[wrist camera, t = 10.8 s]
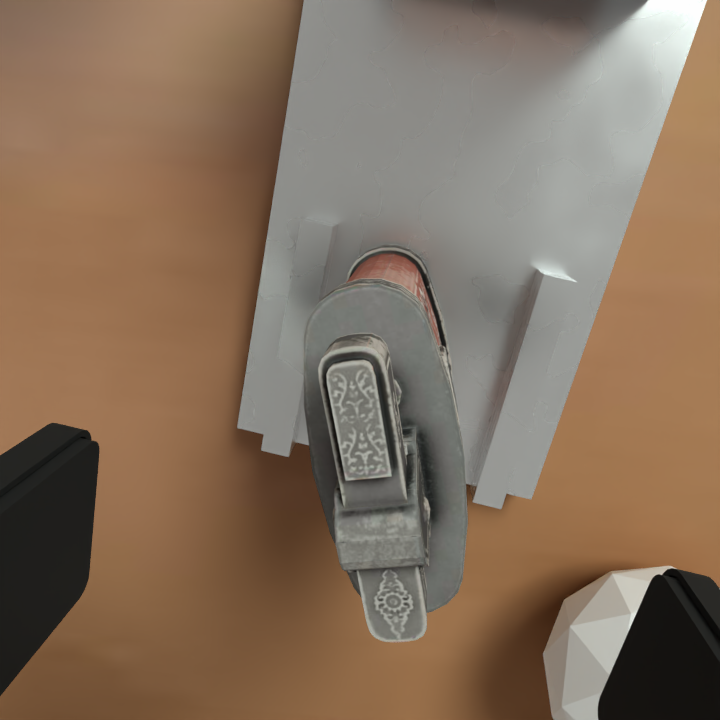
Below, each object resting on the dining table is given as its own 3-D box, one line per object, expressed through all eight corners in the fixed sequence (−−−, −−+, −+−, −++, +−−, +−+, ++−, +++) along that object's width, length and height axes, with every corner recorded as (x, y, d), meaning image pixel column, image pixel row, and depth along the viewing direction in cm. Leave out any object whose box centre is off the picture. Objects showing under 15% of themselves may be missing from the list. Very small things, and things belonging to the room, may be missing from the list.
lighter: (464, 463, 21) (496, 704, 11) (371, 472, 21) (326, 710, 12) (435, 236, 18) (444, 296, 9) (332, 252, 19) (237, 326, 9)
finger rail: (524, 479, 22) (605, 723, 12) (249, 412, 23) (109, 594, 13) (738, -146, 16) (1262, -694, 6) (351, -221, 16) (234, -847, 6)
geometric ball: (561, 580, 26) (462, 679, 21) (707, 497, 21) (631, 598, 16) (684, 743, 24) (610, 907, 18) (884, 692, 19) (867, 896, 13)
